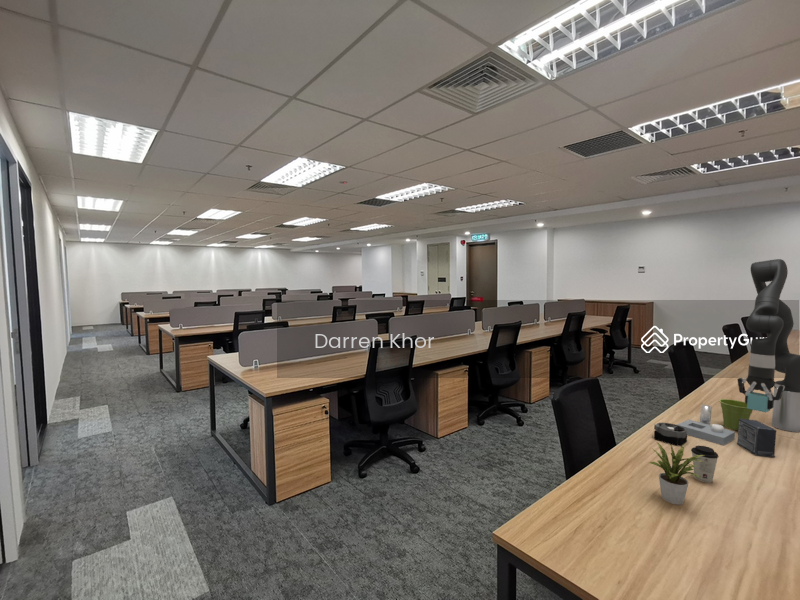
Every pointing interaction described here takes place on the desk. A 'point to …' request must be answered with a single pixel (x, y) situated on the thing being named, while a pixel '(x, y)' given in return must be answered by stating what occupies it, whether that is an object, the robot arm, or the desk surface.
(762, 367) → the robot arm
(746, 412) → the plant pot
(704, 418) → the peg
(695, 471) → the coffee cup
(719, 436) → the peg board
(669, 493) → the house plant
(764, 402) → the teal cube
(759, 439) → the small box
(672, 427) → the cpu cooler
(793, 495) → the desk surface
